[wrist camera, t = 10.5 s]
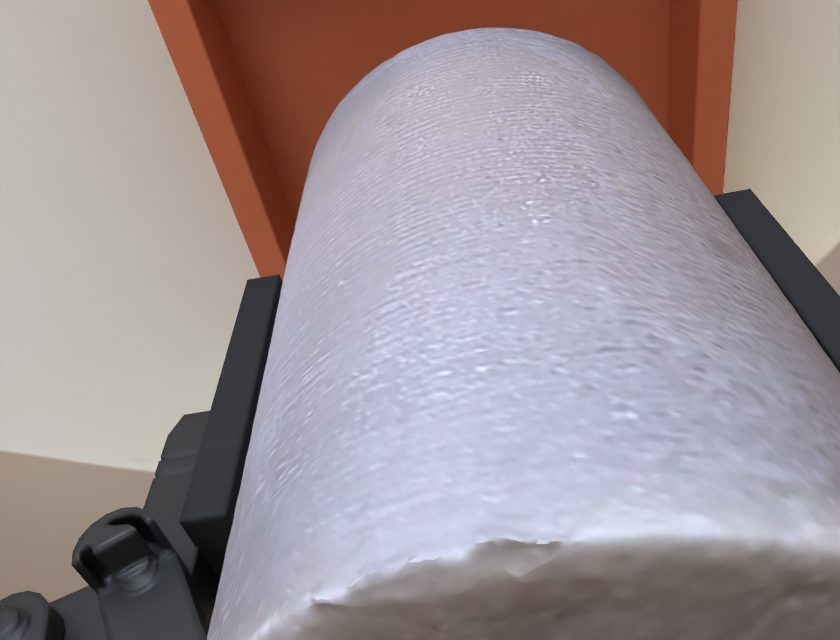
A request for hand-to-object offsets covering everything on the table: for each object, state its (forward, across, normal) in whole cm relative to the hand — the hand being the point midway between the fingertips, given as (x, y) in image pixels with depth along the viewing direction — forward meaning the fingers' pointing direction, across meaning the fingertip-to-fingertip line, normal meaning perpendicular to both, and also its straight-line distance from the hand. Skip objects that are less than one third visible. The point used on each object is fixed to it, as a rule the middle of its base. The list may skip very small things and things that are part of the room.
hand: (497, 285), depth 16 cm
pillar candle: (+4, 0, 0) cm, 4 cm away
